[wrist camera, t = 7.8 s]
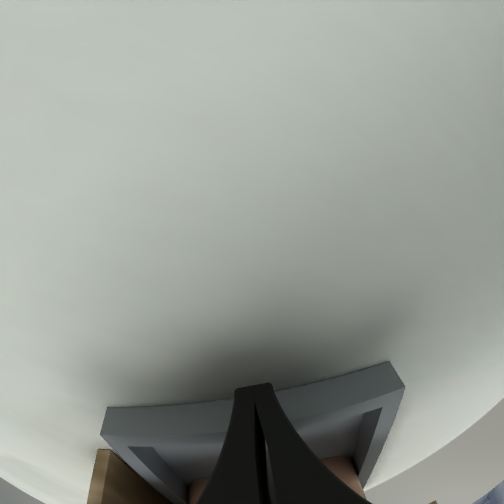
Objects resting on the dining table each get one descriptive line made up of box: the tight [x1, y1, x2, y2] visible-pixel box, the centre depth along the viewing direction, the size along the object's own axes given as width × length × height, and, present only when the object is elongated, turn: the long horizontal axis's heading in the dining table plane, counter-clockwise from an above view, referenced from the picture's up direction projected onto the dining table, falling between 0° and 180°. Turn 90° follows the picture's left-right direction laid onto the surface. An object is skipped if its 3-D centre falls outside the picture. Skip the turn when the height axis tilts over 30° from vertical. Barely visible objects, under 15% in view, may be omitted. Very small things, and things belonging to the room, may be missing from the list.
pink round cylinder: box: [320, 456, 366, 499], centre depth 15 cm, size 4×4×4 cm
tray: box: [100, 361, 405, 504], centre depth 15 cm, size 14×18×2 cm
